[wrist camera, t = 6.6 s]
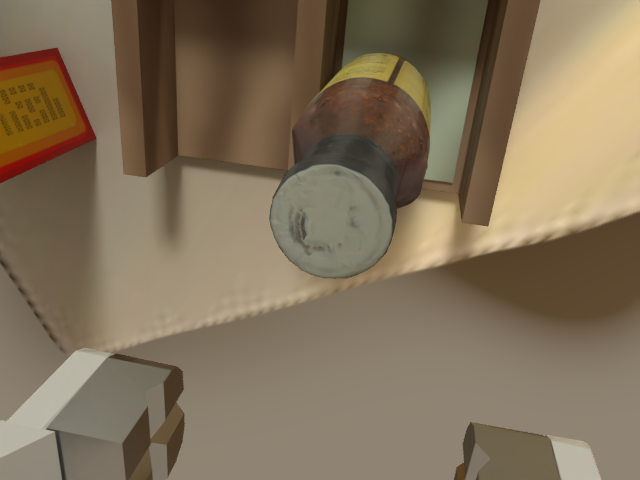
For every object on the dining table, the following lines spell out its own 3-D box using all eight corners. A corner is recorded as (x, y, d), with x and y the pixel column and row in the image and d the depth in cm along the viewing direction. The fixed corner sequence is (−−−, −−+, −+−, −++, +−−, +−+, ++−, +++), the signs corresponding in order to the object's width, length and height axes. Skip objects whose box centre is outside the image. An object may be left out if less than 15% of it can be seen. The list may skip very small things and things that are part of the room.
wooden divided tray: (163, 149, 41) (123, 173, 35) (153, -91, 34) (104, -104, 29) (480, 192, 38) (488, 226, 33) (535, -60, 31) (556, -68, 26)
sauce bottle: (317, 121, 37) (189, 247, 19) (361, 30, 34) (259, 79, 16) (405, 169, 37) (359, 339, 19) (456, 82, 34) (458, 188, 16)
